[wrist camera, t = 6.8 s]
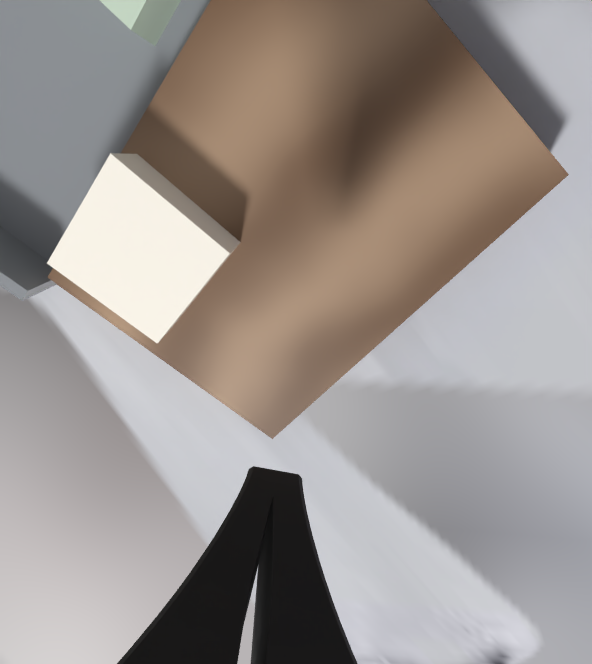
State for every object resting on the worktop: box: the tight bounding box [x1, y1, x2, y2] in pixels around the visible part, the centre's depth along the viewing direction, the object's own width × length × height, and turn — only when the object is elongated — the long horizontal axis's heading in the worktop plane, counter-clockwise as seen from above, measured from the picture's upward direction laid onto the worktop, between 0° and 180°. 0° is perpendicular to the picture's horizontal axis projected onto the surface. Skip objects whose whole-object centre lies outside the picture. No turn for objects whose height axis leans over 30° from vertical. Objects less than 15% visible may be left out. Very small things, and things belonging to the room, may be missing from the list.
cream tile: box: [47, 153, 240, 343], centre depth 15 cm, size 5×5×2 cm
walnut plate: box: [48, 0, 568, 439], centre depth 16 cm, size 13×17×2 cm
